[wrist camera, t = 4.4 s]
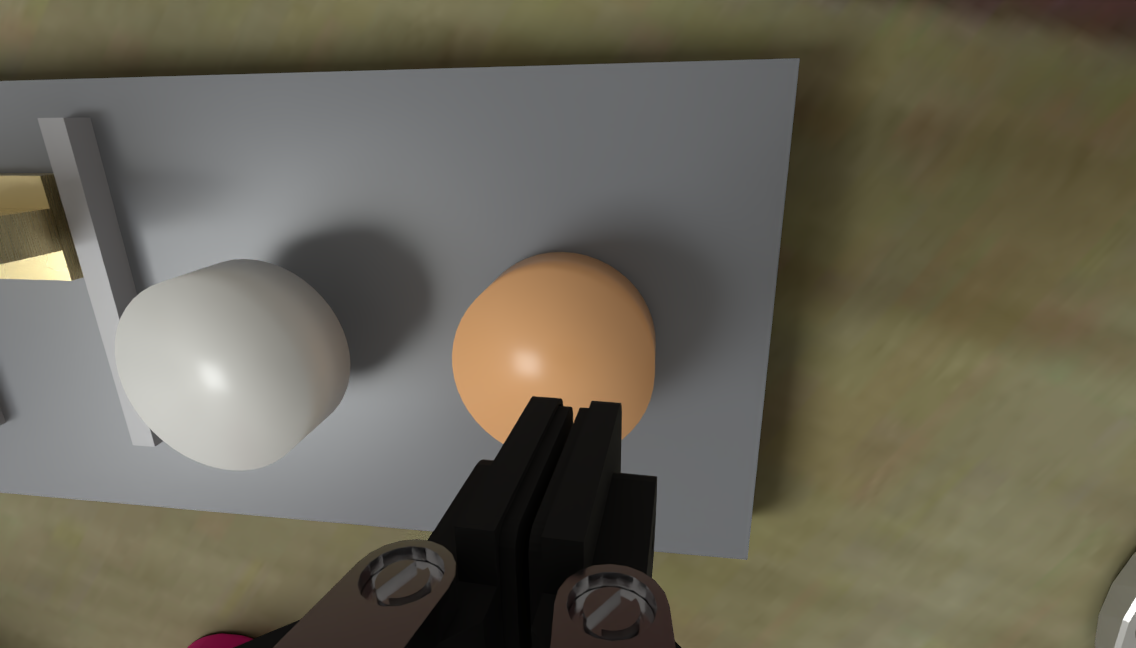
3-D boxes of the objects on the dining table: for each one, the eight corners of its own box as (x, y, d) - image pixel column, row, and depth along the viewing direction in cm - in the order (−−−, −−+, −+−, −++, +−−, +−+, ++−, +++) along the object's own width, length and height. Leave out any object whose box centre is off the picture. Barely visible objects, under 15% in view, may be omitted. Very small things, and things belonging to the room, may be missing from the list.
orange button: (658, 253, 15) (658, 272, 13) (652, 427, 17) (651, 466, 15) (469, 250, 16) (444, 267, 14) (481, 417, 17) (460, 453, 16)
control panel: (783, 65, 15) (808, 54, 13) (739, 518, 20) (751, 578, 17) (-84, 88, 19) (-200, 84, 17) (48, 462, 24) (-28, 505, 21)
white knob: (336, 260, 15) (289, 281, 13) (361, 436, 16) (323, 477, 15) (158, 257, 16) (90, 276, 14) (200, 425, 17) (144, 463, 15)
